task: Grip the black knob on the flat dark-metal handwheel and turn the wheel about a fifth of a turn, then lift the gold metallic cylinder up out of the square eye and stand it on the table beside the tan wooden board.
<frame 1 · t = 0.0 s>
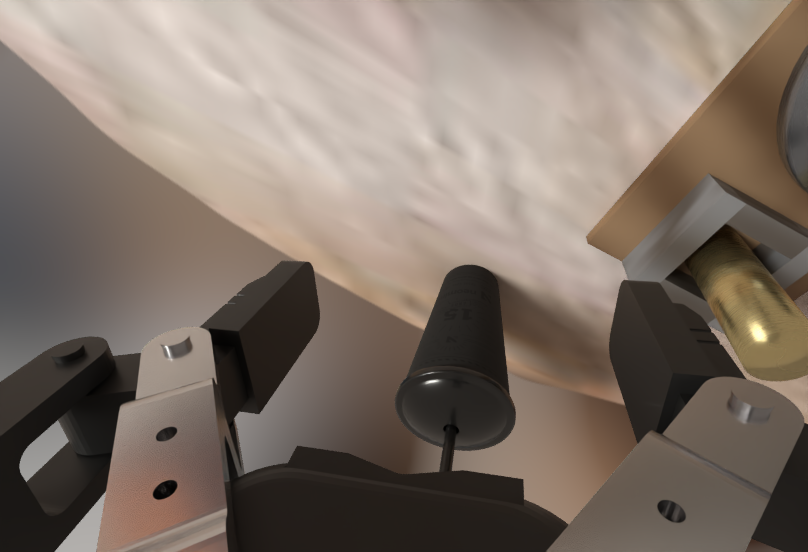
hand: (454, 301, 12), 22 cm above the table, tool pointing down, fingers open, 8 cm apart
dark tapered cylinder: (471, 286, 39), on the table
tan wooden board: (807, 153, 28), on the table
gold metallic cylinder: (709, 246, 31), point 1 cm above the table, touching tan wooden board
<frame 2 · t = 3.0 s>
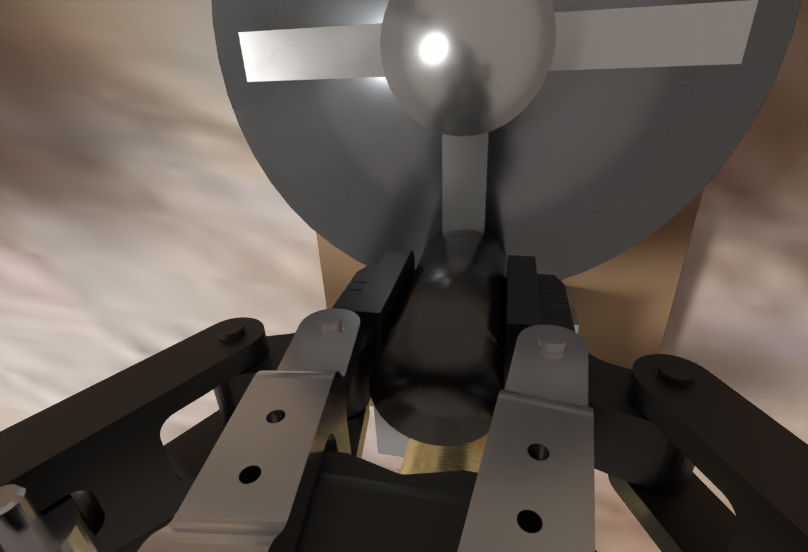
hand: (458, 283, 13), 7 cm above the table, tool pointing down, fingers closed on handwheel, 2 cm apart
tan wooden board: (488, 195, 18), on the table
handwheel: (458, 54, 9), point 8 cm above the table, hinge at 0.0°, touching gripper
gold metallic cylinder: (470, 354, 21), point 1 cm above the table, touching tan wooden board
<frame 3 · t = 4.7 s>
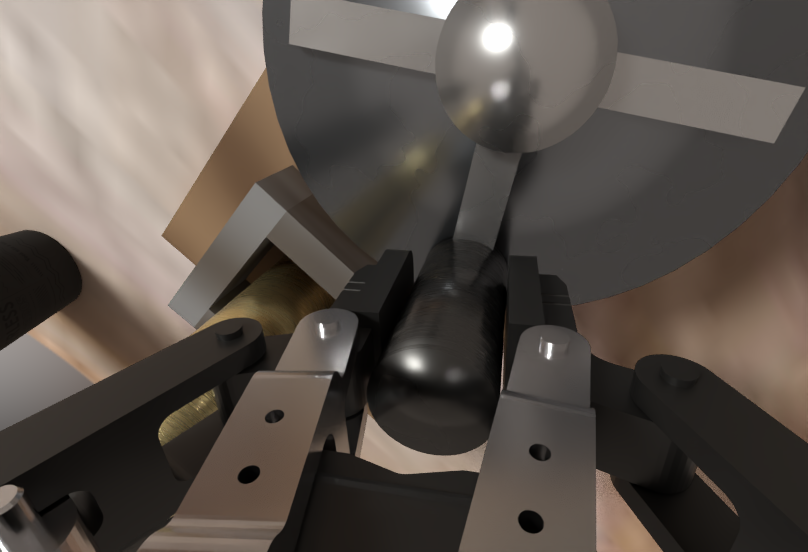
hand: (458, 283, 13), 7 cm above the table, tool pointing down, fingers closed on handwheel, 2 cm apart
dark tapered cylinder: (50, 266, 27), on the table
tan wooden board: (428, 176, 19), on the table
handwheel: (519, 72, 9), point 8 cm above the table, hinge at 32.3°, touching gripper
gold metallic cylinder: (311, 283, 21), point 1 cm above the table, touching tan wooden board
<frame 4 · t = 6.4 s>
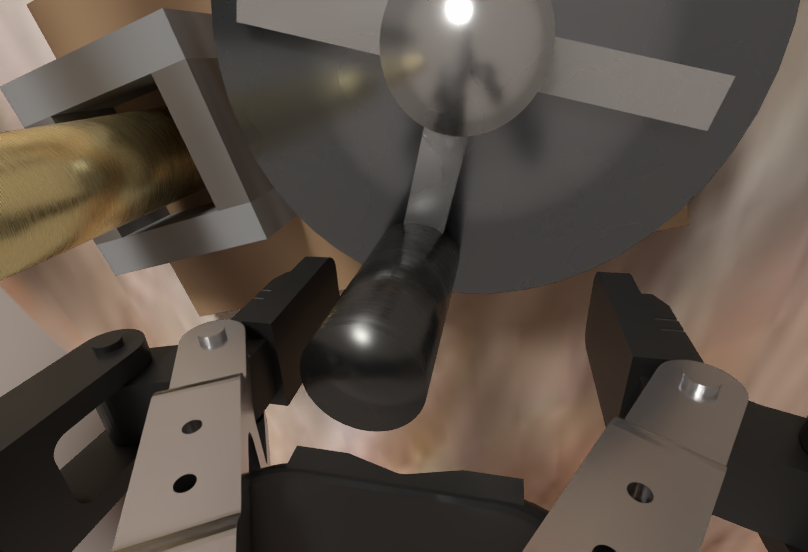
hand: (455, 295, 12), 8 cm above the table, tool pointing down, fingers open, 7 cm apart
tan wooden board: (350, 106, 18), on the table
handwheel: (456, 54, 9), point 8 cm above the table, hinge at 61.2°
gold metallic cylinder: (185, 148, 19), point 1 cm above the table, touching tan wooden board
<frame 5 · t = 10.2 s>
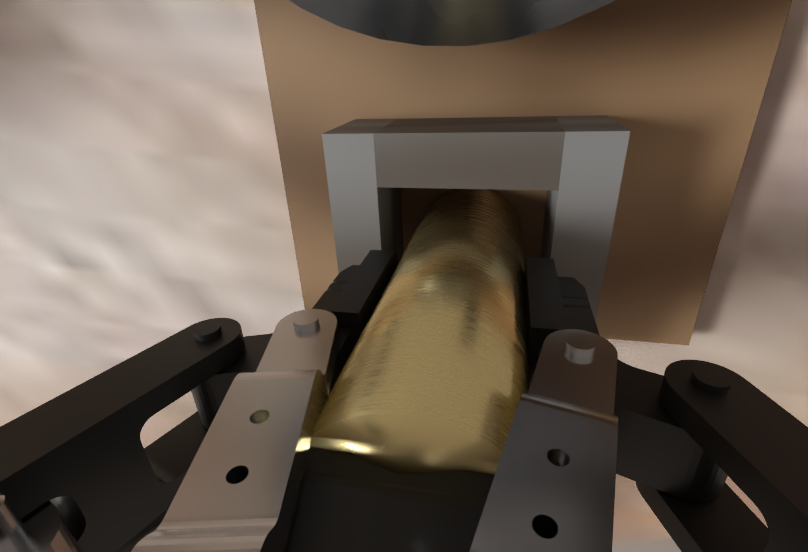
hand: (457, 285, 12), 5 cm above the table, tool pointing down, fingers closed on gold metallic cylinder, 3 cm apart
gold metallic cylinder: (470, 234, 16), point 1 cm above the table, touching gripper, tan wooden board
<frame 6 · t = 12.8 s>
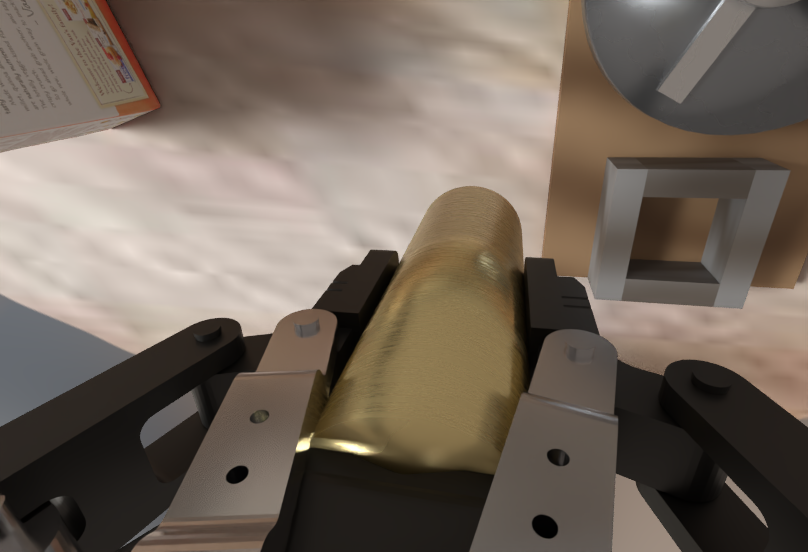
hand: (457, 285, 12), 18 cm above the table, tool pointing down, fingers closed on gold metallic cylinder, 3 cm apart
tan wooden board: (700, 90, 25), on the table
cracker box: (83, 20, 31), on the table
gold metallic cylinder: (470, 235, 16), point 14 cm above the table, touching gripper
when the fingers open (5 cm above the table, at t = 15.5 s): gold metallic cylinder stays where it is, on the table.
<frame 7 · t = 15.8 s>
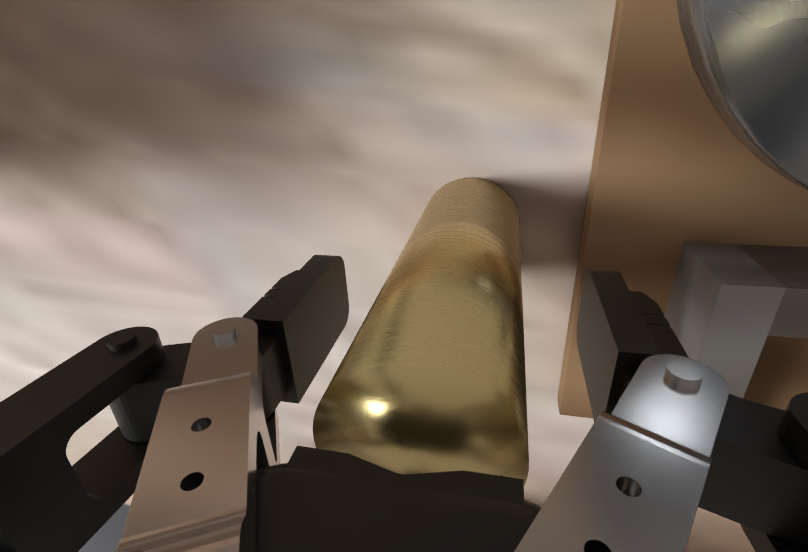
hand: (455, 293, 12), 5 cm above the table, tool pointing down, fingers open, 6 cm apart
gold metallic cylinder: (470, 224, 17), on the table
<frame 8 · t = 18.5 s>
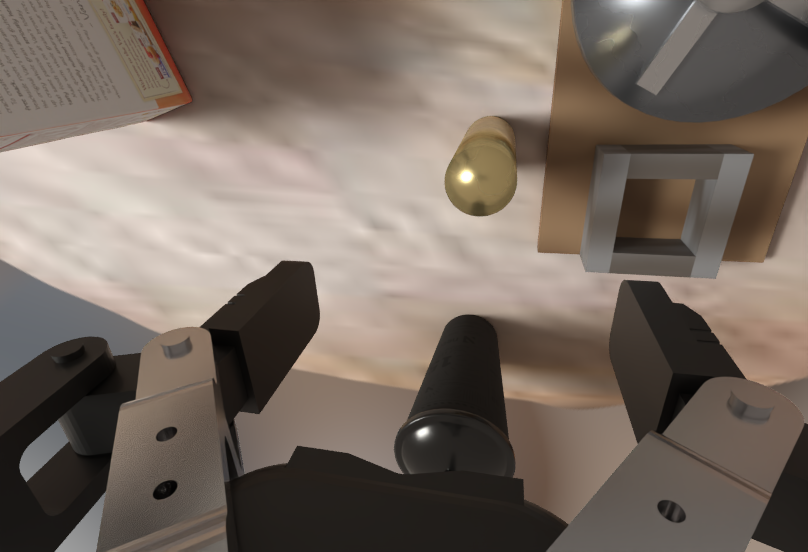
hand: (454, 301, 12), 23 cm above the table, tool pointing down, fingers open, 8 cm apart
dark tapered cylinder: (470, 336, 40), on the table
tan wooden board: (677, 84, 28), on the table
cracker box: (123, 22, 34), on the table
gold metallic cylinder: (489, 142, 32), on the table
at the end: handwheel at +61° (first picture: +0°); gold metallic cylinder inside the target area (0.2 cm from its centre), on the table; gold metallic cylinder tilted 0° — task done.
